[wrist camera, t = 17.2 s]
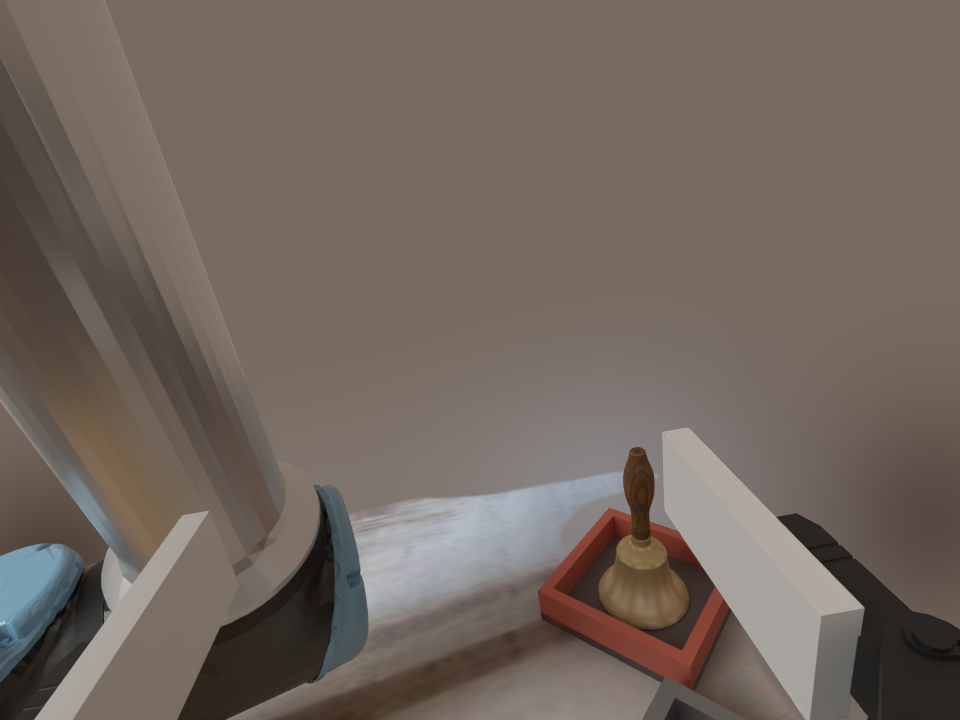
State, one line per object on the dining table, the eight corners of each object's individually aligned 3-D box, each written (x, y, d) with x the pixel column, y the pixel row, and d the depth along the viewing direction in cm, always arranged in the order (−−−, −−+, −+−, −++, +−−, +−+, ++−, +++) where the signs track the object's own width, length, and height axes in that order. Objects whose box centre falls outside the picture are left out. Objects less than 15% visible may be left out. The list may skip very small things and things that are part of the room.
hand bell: (707, 593, 49) (709, 444, 43) (654, 648, 44) (647, 490, 39) (633, 550, 55) (626, 416, 50) (580, 594, 51) (565, 453, 45)
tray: (541, 618, 50) (538, 590, 49) (610, 532, 59) (609, 508, 58) (690, 698, 41) (690, 666, 40) (744, 581, 50) (745, 553, 49)
